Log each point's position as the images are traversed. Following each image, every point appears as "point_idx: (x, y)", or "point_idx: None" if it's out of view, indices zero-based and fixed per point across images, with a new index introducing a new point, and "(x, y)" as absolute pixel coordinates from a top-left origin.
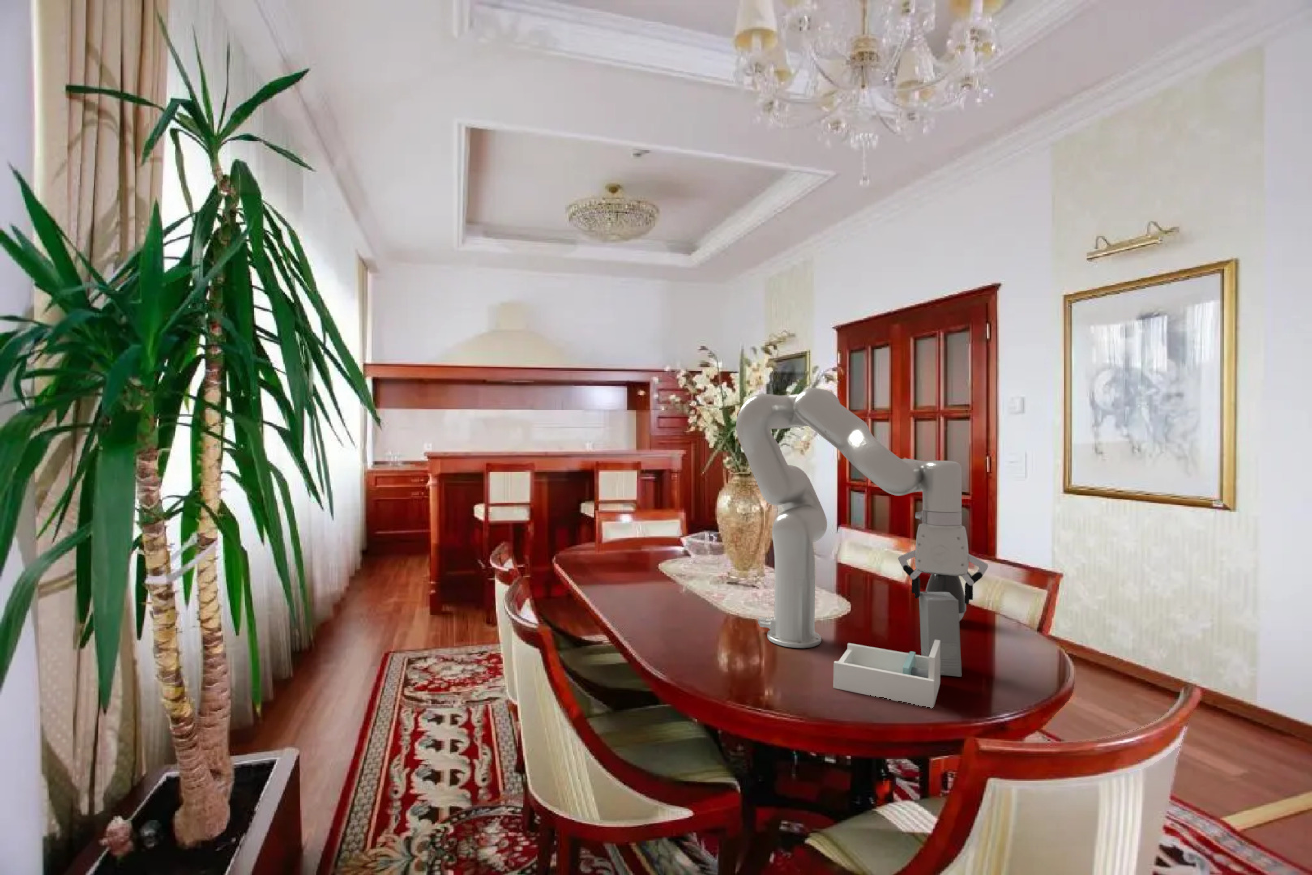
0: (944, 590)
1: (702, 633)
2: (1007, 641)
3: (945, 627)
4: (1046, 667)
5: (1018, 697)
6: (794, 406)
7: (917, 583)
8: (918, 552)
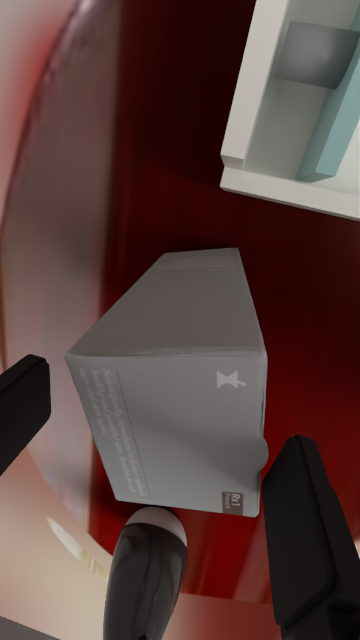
0: (142, 584)
1: None
2: (74, 447)
3: (177, 286)
4: (20, 350)
5: (59, 162)
6: None
7: (327, 548)
8: None
